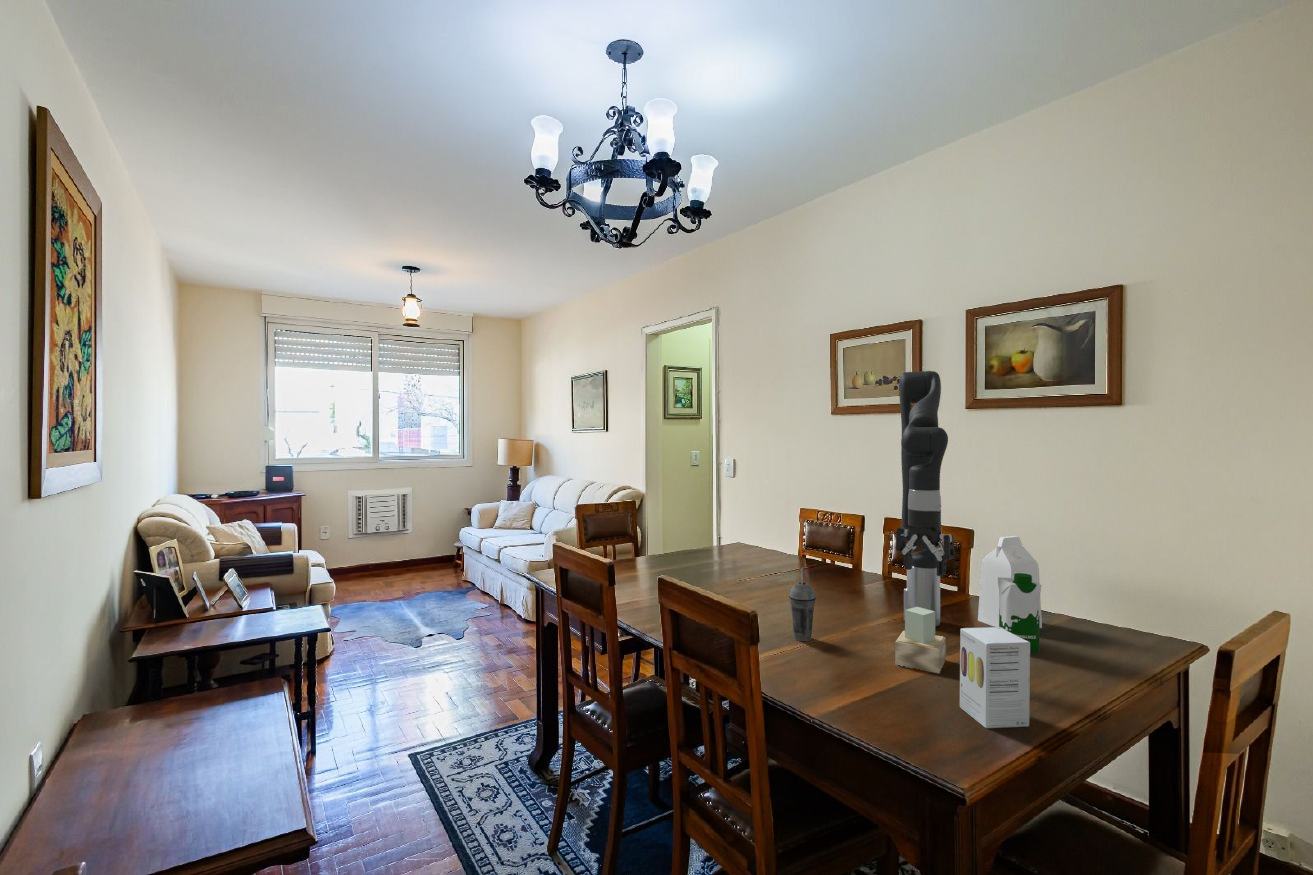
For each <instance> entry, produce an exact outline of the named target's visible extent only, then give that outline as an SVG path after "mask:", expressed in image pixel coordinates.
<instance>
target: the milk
mask: <svg viewBox="0 0 1313 875" xmlns="http://www.w3.org/2000/svg"><path fill="white" fill-rule="evenodd" d="M1015 573H1023V574H1029V575H1031V576H1032V580H1033V581H1035V582H1037V583H1039V584H1040V585H1041V581H1040V580H1041V579H1040V566H1039V564H1038V562H1037V560H1036V559H1035V558H1034V557H1033V556H1032V555H1031V553H1030V552H1029V551H1028V550H1027V549H1026V548H1025V547H1024V546H1023V544H1022V541H1021V538H1020V537H1019V536H1017V535H1011V536H1010V535H1009V536H1000V537H999V539H998V543H997V546H996V547H995V548H993V550H991V551H990V552H989V553H988V554H986V555H985V557H983V558H982V561H981V569H980V584H979V597H978V598H979V600H978V612H977V621H978V622H980V623H983V624H986V625H989V626H991V627H999V586H998V577H1002V578H1014V574H1015ZM1041 602H1042V601H1041V598H1040V629H1042V628H1043V622H1042V604H1041Z"/></svg>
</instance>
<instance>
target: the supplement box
mask: <svg viewBox="0 0 1313 875" xmlns="http://www.w3.org/2000/svg"><path fill="white" fill-rule="evenodd" d="M959 632H960V634H959V635H960V637H959V639H960V640H959V642H960V645H959V646H960V647H959V648H960V649H959V653H960V654H959V708H960V709H961V710H963V711H964V712H965V713H966V714H968V715H969V716H970V717H971V718H973V719H974V720H975V721H976V722H977V723H979V724H980V725H981V726H982V727H984V728H985V729H1001V728H1003V729H1004V728H1019V727H1020V728H1022V727H1024V728H1025V727H1030V701H1031V698H1030V696H1031V695H1030V693H1031V692H1030V690H1031V689H1030V681H1031V680H1030V677H1031V675H1030V674H1031V673H1030V671H1031V653H1030V642H1028V641H1026V640H1024V639H1022V638H1020V637H1018V636H1016V635H1014V634H1012V633H1010V632H1008V631H1006V630H1005V629H1003V628H1001V627H994V626H991V627H990V626H989V627H963V628H960V631H959Z"/></svg>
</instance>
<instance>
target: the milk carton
mask: <svg viewBox="0 0 1313 875" xmlns="http://www.w3.org/2000/svg"><path fill="white" fill-rule="evenodd" d="M998 586H999V627H1001V628H1003V629H1005V630H1006V631H1008V632H1010V633H1012V634H1014V635H1016V636H1018V637H1020V638H1022V639H1024V640H1026V641H1028V642H1030V654H1040V642H1041V641H1040V629H1041V628H1040V599H1041V591H1042V584H1041V583H1040V584H1039V583H1037V582H1035V581H1033V580H1032V576H1031V575H1029V574H1023V573H1015V574H1014V578H1002V577H998Z"/></svg>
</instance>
